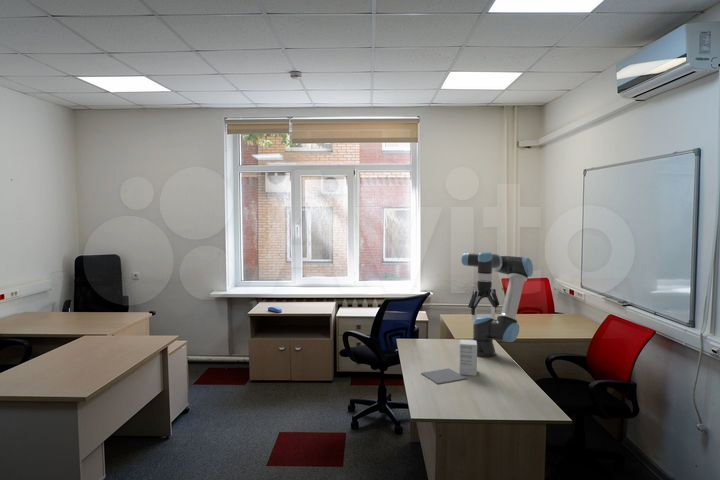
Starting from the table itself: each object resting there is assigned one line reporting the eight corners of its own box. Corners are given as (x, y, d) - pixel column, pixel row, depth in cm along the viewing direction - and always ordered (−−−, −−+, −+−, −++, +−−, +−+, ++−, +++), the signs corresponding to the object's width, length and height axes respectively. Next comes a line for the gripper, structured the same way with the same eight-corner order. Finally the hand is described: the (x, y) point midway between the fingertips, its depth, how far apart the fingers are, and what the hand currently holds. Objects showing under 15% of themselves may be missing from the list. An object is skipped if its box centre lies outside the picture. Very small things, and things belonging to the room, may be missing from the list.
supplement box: (476, 376, 251) (477, 345, 249) (459, 374, 252) (459, 344, 251) (475, 370, 260) (476, 340, 259) (458, 368, 262) (459, 339, 261)
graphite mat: (448, 369, 261) (448, 368, 261) (466, 379, 246) (466, 377, 246) (421, 373, 253) (421, 372, 253) (437, 384, 239) (437, 383, 239)
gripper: (497, 278, 265) (496, 316, 267) (462, 280, 255) (461, 320, 257) (506, 280, 258) (505, 318, 260) (470, 283, 248) (469, 323, 250)
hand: (483, 319), depth 258 cm, fingers open, 12 cm apart
